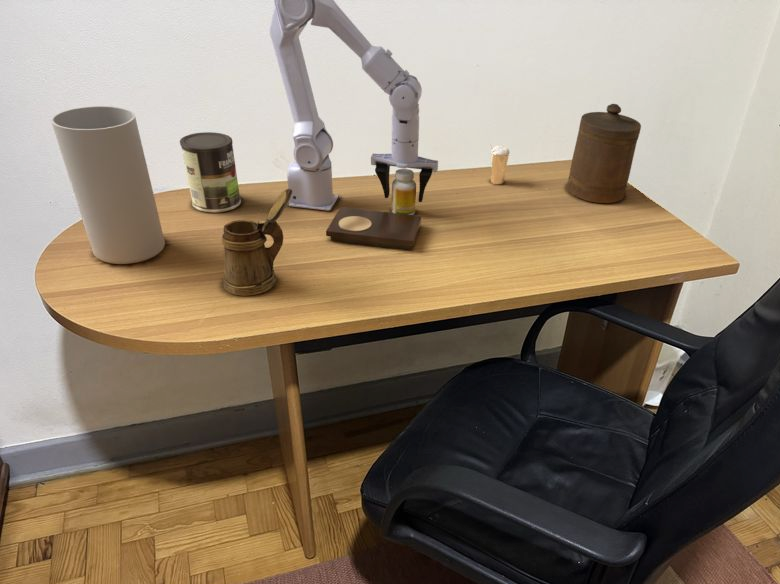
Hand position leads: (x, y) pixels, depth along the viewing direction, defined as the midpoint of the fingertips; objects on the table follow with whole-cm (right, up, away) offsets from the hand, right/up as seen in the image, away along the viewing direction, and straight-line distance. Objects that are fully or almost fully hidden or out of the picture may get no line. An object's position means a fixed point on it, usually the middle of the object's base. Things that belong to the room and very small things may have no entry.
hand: (403, 198), depth 141 cm
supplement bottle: (0, -3, +2) cm, 4 cm away
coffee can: (-42, -2, -2) cm, 42 cm away
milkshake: (+22, +9, +21) cm, 31 cm away
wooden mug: (-23, -22, -26) cm, 41 cm away
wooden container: (+48, +7, +21) cm, 52 cm away
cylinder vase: (-51, -15, -21) cm, 57 cm away
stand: (-5, -9, -7) cm, 13 cm away
